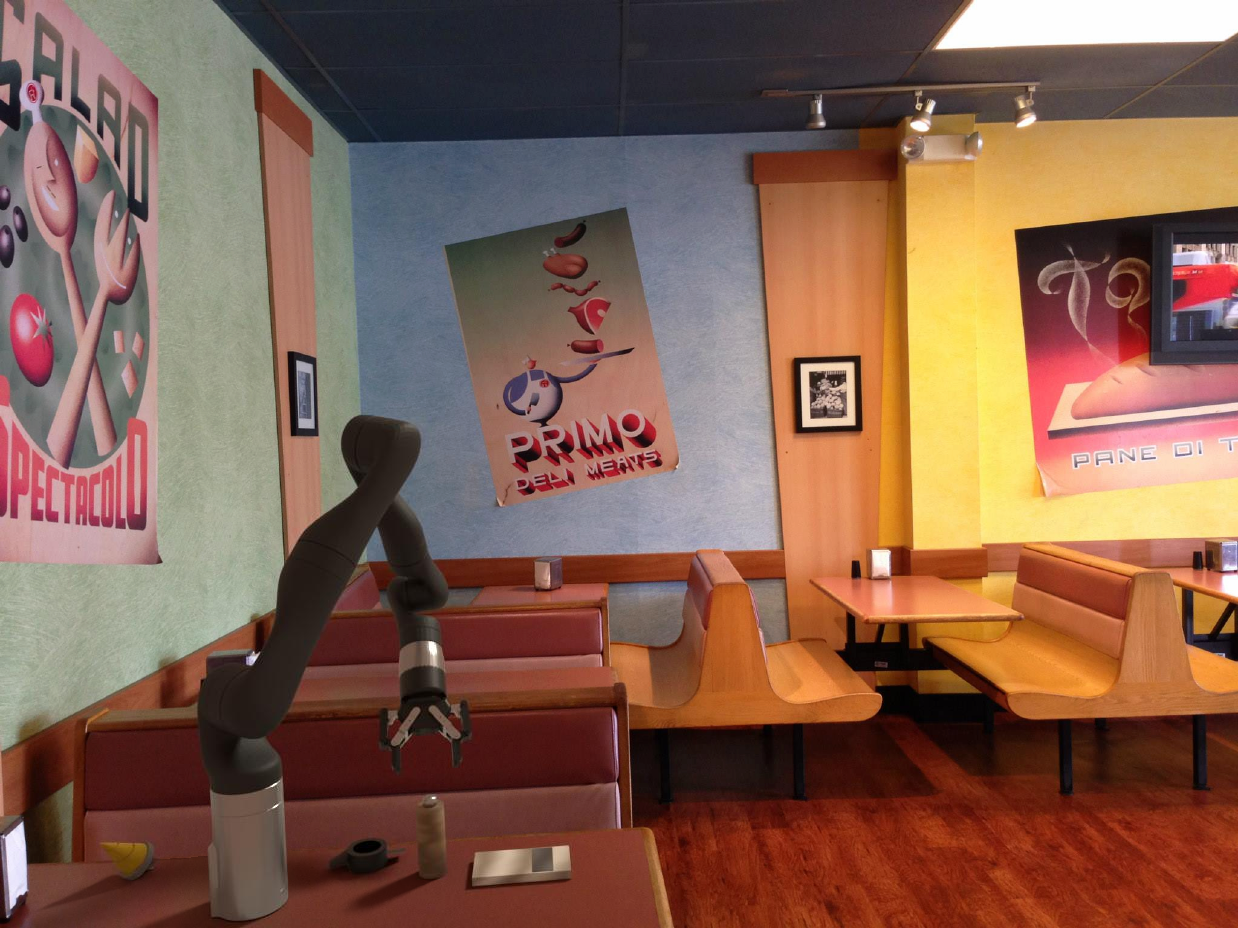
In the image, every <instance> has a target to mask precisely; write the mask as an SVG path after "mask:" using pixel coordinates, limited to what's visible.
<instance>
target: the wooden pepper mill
mask: <svg viewBox="0 0 1238 928" xmlns="http://www.w3.org/2000/svg"><path fill="white" fill-rule="evenodd" d="M421 799H422V801H420V802H418V803H417V804H416V806H415V818H416V822H415V823H416V838H417V840H416V841H417V858H418V862H417V863H418V876H419V877H420V878H422V880H423V879H425V880H433V879H434V880H435V879H439V878H442V877H443V876H445V875H446V874H447V872H448V868H447V866H448V865H447V845H446V844H447V843H446V842H447V841H446V823H445V821H446V818H445V803H444V801H443V800H440V799H437V794H433V793H432V794H426V795H423V796H422V798H421Z"/></svg>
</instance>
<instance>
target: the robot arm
mask: <svg viewBox="0 0 1238 928" xmlns="http://www.w3.org/2000/svg"><path fill="white" fill-rule="evenodd" d="M343 428H344V429H343V431H342V433H341V438H340V449H341V450H340V451H341V455H342V458H343V460H344V463H345V466H346V468H347V470H348V472H349V473H350V476H351V477H352V479H353V481H354V483H355V485H356V489H355V490H353V492H351V493H350V495H348V496H347V497H346V498H344V499H343V500H342V501H341V502H340V503H338V504H336V505H334V506H333V507H332V508H331V509H329V510H328V511H326V512H325V513H324V514H322V515H321V516H320V517H318V518H316V519H315V520H313V522H312V523H310V524H309V525H308V526H307V527H306V528H305V529H304V530H303V531H302V533H301V535H300V536H299V537H298V539H297V541H296V542H295V544H294V546H293V548H292V550H291V551H290V553H289V555H288V557H287V559H286V560H285V562H284V564H283V566H282V567H281V570H280V574H279V578H278V582H277V590H276V591H277V592H276V601H275V602H276V603H275V604H276V605H275V607H276V608H275V614H274V615H275V616H274V621H273V625H272V628H271V630H270V633H269V635H268V636H267V639H266V641H265V643H264V644H263V646H262V648H261V649H260V652H259V653H258V655H257V656H256V659H255V660H254V661H253V663H252V665H250V664H246V663H243V662H242V663H241V662H227V663H224V664H221V665H218V666H217V667H215V668H214V669H212V671H210V672H209V673H208V674H207V676H206V677H205V678H204V680H203V682H202V684H201V686H200V688H199V692H198V696H197V704H196V705H197V706H196V713H197V726H198V728H197V729H198V737H199V744H200V745H199V746H200V756H201V761H202V766H203V768H204V770H205V771H206V775H207V776H208V780H209V793H210V796H209V797H210V811H211V812H210V813H211V829H212V842H211V844H209V846H208V847H207V860H208V861H207V862H208V880H209V881H208V882H209V883H208V884H209V896H210V897H209V898H210V916H211V918H222V919H223V920H227V921H234V922H239V921H242V922H243V921H249V920H255V919H258V918H263V917H265V916H267V915H270V914H272V913H274V912H276V911H277V910H279V909H281V907H282V906H284V905H285V904H286V902H287V901H288V899H289V879H288V863H287V862H288V861H287V860H288V859H287V842H286V841H287V840H286V824H285V823H286V822H285V821H286V820H285V819H286V818H285V801H284V800H285V799H284V783H283V782H284V781H283V780H284V779H283V766H282V765H283V764H282V759H281V756H280V754H279V753H278V752H277V751H276V750H275V749H274V748H273V747H272V745H271V744H270V742H269V741H268V739H267V737H266V736H268V735H270V734H271V733H273V731H275V730H276V729H277V728H278V727H279V726H280V725H281V724H282V722H283V720H284V719H285V718H286V716H287V714H288V712H289V710H290V708H291V707H292V703H293V701H294V698H295V697H296V694H297V691H298V689H299V686H300V684H301V681H302V679H303V677H304V673H305V671H306V669H307V666H308V663H309V661H310V659H311V656H312V654H313V651H315V647H316V645H317V643H318V642H319V639H320V637H321V635H322V634H323V631H324V629H325V627H326V625H327V624H328V621H329V619H330V617H331V615H332V613H333V611H334V609H335V607H336V605H337V603H338V602H339V600H340V598H341V596H342V594H343V593H344V591H345V589H346V588H347V585H348V583H349V581H351V580H350V579H351V577H352V576H353V574H354V572H355V570H356V568H357V566H358V564H359V562H360V560H361V557H362V555H363V553H364V551H365V550H366V547H367V546H368V543H369V542H370V540H371V539H372V537H373V535H374V533H375V531H376V529H377V531H378V533H379V536H380V541H381V544H382V548H383V550H384V554H385V557H386V561H387V564H388V567H389V569H390V571H391V572H392V573H393V574H394V575H396V577H394V578H392V579H391V580H390V581H389V583H388V585H387V588H386V597H387V601H388V605H389V607H390V608H391V611H392V614H393V617H394V619H395V622H396V626H397V632H398V642H399V643H398V644H399V658H398V682H399V684H398V686H399V707H398V709H397V710H388V708H386V707H382V708H381V709H380V712H379V730H378V733H379V734H378V744H379V749H380V750H381V751H386V750H387V751H389V752H390V754H391V755H390V756H391V769H392V771H393V772H396V775H402V755H401V752H402V751H401V748H402V747H403V745H404V744H405V743H406V742H408V741H409V739H410V737H412V735H414V736H415V737H421V736H424V735H436V733H438V732H439V733H440V734H441V735H442V736H443V737H444V738H445V739H447V740H448V741H449V742H450V743H451V757H452V759H451V760H452V768H453V769H456V768H458V767H459V766H458V765H461V763H462V760H463V759H462V758H463V754H462V743H464V742H465V741H466V742H469V741H471V739H472V733H473V732H472V731H473V729H472V724H471V717H470V709H469V704H468V701H467V700H466V699H463V700H461V701H459V703H454V704H450V703H449V701H448V691H447V690H448V688H447V677H446V674H447V673H446V671H447V670H446V664H445V663H446V662H445V657H444V654H443V653H444V652H443V645H442V630H441V624H440V622H439V620H438V619H437V618H436V617H434V616H432V615H428V614H421V613H427V612H432V611H438V610H441V609H442V608H444V607H445V606H446V604H447V602H448V600H449V596H450V589H449V586H448V585H449V584H448V582H447V580H446V578H445V576H444V575H443V573H442V572H441V570H440V569H439V567H438V566H437V565H436V563H435V561H434V560H433V559H432V556H431V555H430V551H429V548H428V545H427V540H426V536H425V533H424V529H423V526H422V524H421V522H420V520H419V519H418V517H417V515H416V513H415V512H414V510H413V509H412V508H411V507H410V506H409V505H408V502H406V500H404V498H403V497H402V496H401V494H400V490H401V489H402V488H403V486H404V485H405V483H406V481H407V480H408V478H409V476H410V475H411V473H412V472H413V469H414V468H415V465H416V463H417V462H418V459H419V456H420V452H421V447H422V436H421V433H420V430H419V428H418V427H417V426H416V425H414V424H413V423H412V422H408V421H405V420H401V419H400V420H399V419H395V418H391V417H390V418H389V417H385V416H384V417H383V416H377V415H373V414H359V415H355V416H353V417H352V418H350V420H349V421H348V422H347V423H346V424H345V425H344V427H343ZM452 713H453V714H455V715H454V716H456V718H458V719H460V723H461V728H462V730H460V731H459V730H457V728H455V727H454V726H453V724H452V722H451V721H450V720H449V718H450V716H451V715H452ZM396 719H397V720H398V722H400V723H401V726H399V729H398V731H397V733H395V735H394V737H392V738H389V726H392V725H393V724H394V721H395V720H396Z"/></svg>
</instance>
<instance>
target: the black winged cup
mask: <svg viewBox="0 0 1238 928" xmlns="http://www.w3.org/2000/svg"><path fill="white" fill-rule="evenodd" d="M402 852H406V848H405V847H402V848H395V849H388V842H387V841H386V840H385V839H383V838H379V837H366V838H362V839H359V840H355V841H354V842H351V844H349V845H348V846H347V848H346V849H344V850H343V851H342V852H340V853H338V854H337V855H336V856H333V858H331V859H329V860H328V866H329V869H330V870H331V869H334V868H338V867H343V866H347V870H348V871H349V872H350V873H352V874H356V875H367V874H371V873H372V874H373V873H375V872H378V871H381V870H382V869H384V868H385V867H386V866H388V863H389V862H388V861H389V860H388V856H389V855H388V854H396V853H398V854H399V853H402Z"/></svg>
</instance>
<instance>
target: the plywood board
mask: <svg viewBox="0 0 1238 928" xmlns="http://www.w3.org/2000/svg"><path fill="white" fill-rule="evenodd" d="M473 859H474V861H473V869H472V876H471V881H472V882H471V885H472V887H478V886H481V887H482V886H490V885H505V884H517V883H531V882H543V881H554V880H555V881H556V880H568V879H572V867H571V865H572V863H571V856H570V845H559V846H545V847H543V846H542V847H531V848H519V849H503V850H490V851H479V852H478V851H477V852H475V853H474V858H473Z"/></svg>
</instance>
